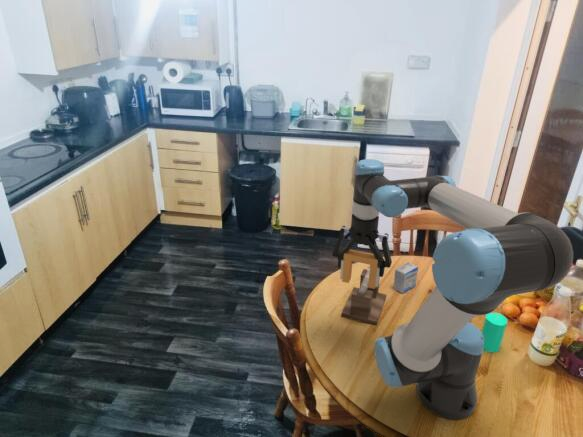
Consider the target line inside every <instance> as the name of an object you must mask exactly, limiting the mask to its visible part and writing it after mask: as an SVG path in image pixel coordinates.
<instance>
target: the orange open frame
mask: <svg viewBox="0 0 583 437" xmlns="http://www.w3.org/2000/svg"><path fill="white" fill-rule="evenodd" d="M353 262H355V263H361V264H364V265H365V264H366V265H369V266H370V273H369V283H368V288H373V289H375V282H376V273H377V267H378V260H377V259H376V258H375V256H374V254H373V253H370V252H365V251H360V250H356V249H352V248H350V250H349V251H348V252H347V253H344V262H343V277H342V279H341V282H342V283H347V284H349V283H350V280H351V279H352V270H353Z"/></svg>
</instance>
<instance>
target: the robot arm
mask: <svg viewBox="0 0 583 437" xmlns="http://www.w3.org/2000/svg"><path fill="white" fill-rule="evenodd" d="M384 174H385V165H384V163H383V162H382V161H380V160H378V159H371V158H370V159H369V158H367V159H361V160H358V162H356V164H355V171H354V175H353V176H354V182H353V195H352V196H353V197H352V210H351V220H350V223H351V224H350V227H346V225H342V226H341V228H340V229H339V237H338V239H337V241H336V245H335V247H334V249H333V251H332V254H331V255H332V257H334V258H335V257H336V258H337V268H338V269H340V272H339V273H340V275H339V277H340V280H342V277H343V262H344V253H347V252H348V251H349V250H350V249H352V247H353V246H354V245H355V244H357V245H363V246H366V247H368V248H369V249H370V250H371V252H372V254H374V256H375V258H376V259H377V260H378V267H377V273H376V282H375V287H378V284H379V285H380V281H381V278H383V277H384V274H385V268H388V269H390V268H391V267H392V263H393V262H392V256H391V251H390V246H389V240H388V239H389V233H384V234H383V233H379V229H378V228H379V220H380V217H379V216H380V214H381V215H383V216H385V217H387V218H397V217H398V216H399V215H400V216H401V214H404V212H405V210H407V209H409V210H410V209H416V208H417V209H418V208H428V209H430V210H432V211H434V212H436V213H437V214H439V215H441V216H442V217H444V218H447V219H448V220H449V221H450V222H453V223H454V224H456V225H458V226H460V227H462V228H464V230H460V231H457V232H456V231H455V232H453V233H450V234H447V235H446V236H445V237H443V238H442V239H441V240H440V241H439V242H438V243H437V246H436V247H435V249H434V253H433V255H432V260H433V261H434V263H432V264H431V272H432V277H433V280H434V283H435V287H434V288H433V290H432V291H431V292H430V294H429V295H428V296H427V298H426V299H425V301H424V302H423V303H422V305H421V307H419V309H418V310H417V311H416V313H415V314H414V316H412V318H411V320H410V321H409V322H406V323H403V324H400V325H399V326H398V327H396V329H394V331H393V332H392V334H391V335H389V336H381V337H379V338H377V339H376V340H375V342H374V355H375V361H376V364H377V368H378V371H379V373H380V375H381V377H382V378H381V379H382V380H383V381H384V382H385V384H386V385H387V386H388V387H390V388H403V387H405V386H410V385H413V384H416V389H415V390H416V394H417V398H418V400H419V401H420V403H421V404H422V406H424V407H425V408H426V409H427V410H428V411H429V412H431V413H432V414H434V415H435V416H438V417H440V418H444V419H448V420H463V419H466V418H468V417H470V416H471V415H472V414H473V413H474V411H475V410H476V407H477V403H478V393H477V388H476V381H475V379H476V376H477V374H478V369H479V366H480V363H481V358H482V357H483V353H484V349H483V345H484V337H483V335H482V330H480V329H479V328H478V326H476V324H474V323H472V322H471V321H472V320H473V319H474V318H475V316H480V317H481V316H486V314H489V313H493V311H495V309H497V308H498V307H499V306H500V305H501V304H502V303H503V302H504V301H505V300H506V299H507V298H510V297H513V296H515V295H516V296H517V295H522V294H526V293H531V292H532V293H533V292H538V291H539V292H541V291H543V290H547V289H550V288H552V287H554V286H556V285H558V284H559V283H561V282H562V281H563V280H564V279H565V278H566V277H567V275H568V273H569V272H570V270H571V268H572V265H573V261H574V250H573V244H572V243H571V240H570V238H569V237H568V235H567V234H566V233H565V232H564V231H563V229H562V228H561V227H559V226H558V225H556V224H555V223H553V222H552V221H551V220H547V219H546V218H544V217H542V216H538V215H537V214H534V213H532V212H520V213H517V212H515V211H513V210H511V209H508V208H506V207H504V206H501V205H499V204H497V203H496V202H495V203H494V202H492V201H489V200H487V199H485V198H483V197H481V196H478V195H476V194H474V193H471V192H469V191H467V190H464V189H462V188H460V187H458V186H457V185H456V182H455V181H453V178H452V177H450V176H448V175H432V176H426V177H424V176H423V177H416V178H406V179H404V178H403V179H402V178H401V179H395V180H390V179H389V178H387V177H386V176H385V175H384ZM348 233H349V235H350V236H351V239H350V241H348V243H347V245H345V247H344V248H343V249H342V250H341V252H340V248H341V246H342V243H343V241H344V239H345V237H346V236H347V235H348ZM377 239H379V242H381V249H382V252H381V251H380V248H379V246H378V245H377V241H376V240H377ZM382 253H383V254H382Z"/></svg>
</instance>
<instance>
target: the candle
mask: <svg viewBox="0 0 583 437" xmlns="http://www.w3.org/2000/svg"><path fill="white" fill-rule="evenodd" d="M508 321H509V320H508V318H507V317H506V316H504V314H501V313H499V312H491V313H489V314H486V315H485V319H484V321H483V326H482V330H481V333H482V335H483V337H484V345H483V351H486V352H488V353H498V352H499V351H500V349H501V345H502V342H503V338H504V334H505V331H506V328H507V324H508Z"/></svg>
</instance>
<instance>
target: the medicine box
mask: <svg viewBox="0 0 583 437" xmlns="http://www.w3.org/2000/svg"><path fill="white" fill-rule="evenodd" d="M418 271H419V267H418V266H417V265H416V264H413V263H411V262H407V263H406V264H404V265H402V266H400V267H398V268H396V269H395V271H394V279H393V286H392V287H393V290H395V291H397V292H398V293H401V294H402V295H403V294H404V293H406V292H408V291H409V290H412V289H413V288H414V287H416V284H417V278H418V273H419V272H418Z"/></svg>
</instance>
